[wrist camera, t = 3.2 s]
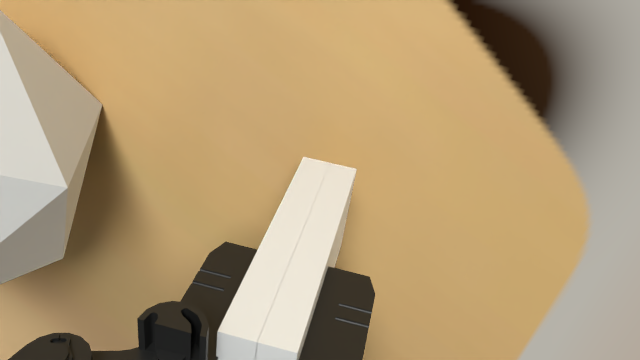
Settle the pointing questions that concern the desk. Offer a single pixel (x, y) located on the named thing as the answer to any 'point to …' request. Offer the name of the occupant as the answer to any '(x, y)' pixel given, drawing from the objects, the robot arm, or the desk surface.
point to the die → (39, 152)
